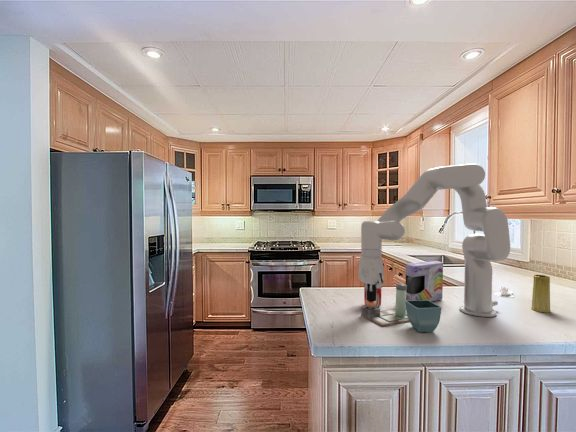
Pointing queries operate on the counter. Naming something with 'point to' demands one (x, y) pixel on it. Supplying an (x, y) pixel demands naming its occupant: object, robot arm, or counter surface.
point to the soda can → (378, 296)
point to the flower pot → (423, 315)
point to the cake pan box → (424, 281)
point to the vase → (541, 294)
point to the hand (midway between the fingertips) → (371, 300)
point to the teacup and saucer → (505, 292)
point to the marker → (400, 300)
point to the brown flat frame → (382, 316)
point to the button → (370, 304)
